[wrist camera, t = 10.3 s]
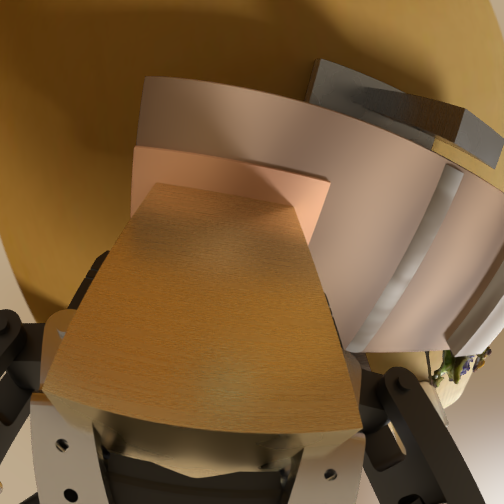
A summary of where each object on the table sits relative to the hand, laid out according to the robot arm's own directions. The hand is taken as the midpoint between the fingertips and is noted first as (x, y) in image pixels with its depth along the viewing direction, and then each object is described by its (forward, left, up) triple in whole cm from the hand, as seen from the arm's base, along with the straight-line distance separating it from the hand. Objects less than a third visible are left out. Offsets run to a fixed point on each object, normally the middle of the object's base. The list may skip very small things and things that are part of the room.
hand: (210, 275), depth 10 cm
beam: (-9, 0, -4) cm, 10 cm away
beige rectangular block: (0, 0, -1) cm, 1 cm away
